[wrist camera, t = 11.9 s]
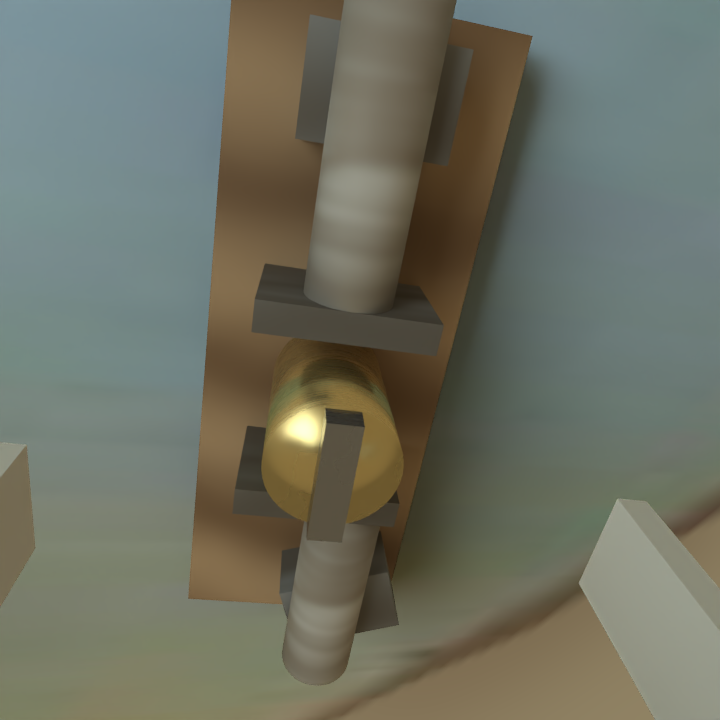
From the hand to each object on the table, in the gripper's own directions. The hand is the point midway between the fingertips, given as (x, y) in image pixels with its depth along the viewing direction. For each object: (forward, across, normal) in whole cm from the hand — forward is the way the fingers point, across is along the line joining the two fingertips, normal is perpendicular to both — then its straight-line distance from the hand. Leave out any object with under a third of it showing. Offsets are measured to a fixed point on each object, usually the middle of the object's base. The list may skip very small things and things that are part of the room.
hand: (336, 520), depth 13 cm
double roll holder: (+11, 0, -1) cm, 11 cm away
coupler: (+9, 0, -1) cm, 9 cm away
